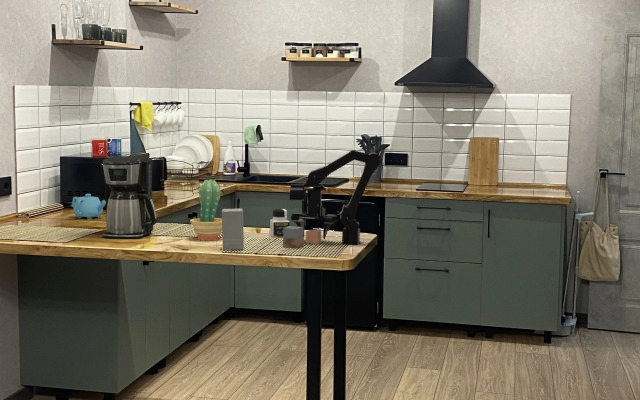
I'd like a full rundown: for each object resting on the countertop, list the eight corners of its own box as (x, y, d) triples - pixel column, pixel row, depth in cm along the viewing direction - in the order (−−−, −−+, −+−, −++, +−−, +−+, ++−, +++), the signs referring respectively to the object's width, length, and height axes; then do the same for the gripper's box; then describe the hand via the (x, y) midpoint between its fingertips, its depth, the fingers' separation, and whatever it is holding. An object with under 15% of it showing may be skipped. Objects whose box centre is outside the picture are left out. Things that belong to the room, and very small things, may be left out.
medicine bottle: (273, 238, 372) (273, 210, 371) (269, 235, 379) (270, 208, 378) (289, 237, 374) (289, 209, 373) (285, 235, 381) (286, 208, 380)
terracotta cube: (321, 242, 363) (321, 230, 362) (317, 244, 358) (317, 232, 357) (309, 241, 364) (310, 229, 364) (305, 243, 360) (306, 231, 359)
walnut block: (303, 246, 352) (303, 236, 352) (298, 248, 346) (298, 239, 346) (288, 245, 354) (288, 235, 354) (282, 247, 348) (283, 237, 348)
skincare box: (244, 247, 346) (244, 208, 344) (243, 250, 339) (243, 210, 337) (222, 247, 346) (222, 207, 344) (221, 250, 339) (221, 209, 337)
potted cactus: (234, 238, 369) (234, 179, 366) (209, 242, 356) (209, 182, 353) (206, 235, 377) (206, 177, 375) (182, 239, 365) (181, 179, 362)
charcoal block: (302, 236, 352) (303, 227, 351) (297, 238, 346) (297, 228, 345) (289, 235, 354) (289, 226, 353) (283, 237, 348) (283, 227, 347)
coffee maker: (102, 240, 358) (101, 158, 355) (98, 229, 389) (97, 154, 386) (157, 238, 365) (157, 158, 362) (149, 228, 396) (149, 154, 392)
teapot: (61, 218, 423) (61, 194, 421) (83, 214, 438) (82, 191, 437) (96, 221, 415) (95, 196, 414) (116, 217, 431) (116, 193, 429)
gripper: (341, 200, 364) (340, 237, 366) (299, 197, 370) (299, 234, 372) (333, 202, 353) (332, 240, 355) (290, 200, 359) (290, 237, 361)
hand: (313, 238), depth 361 cm, fingers open, 9 cm apart
